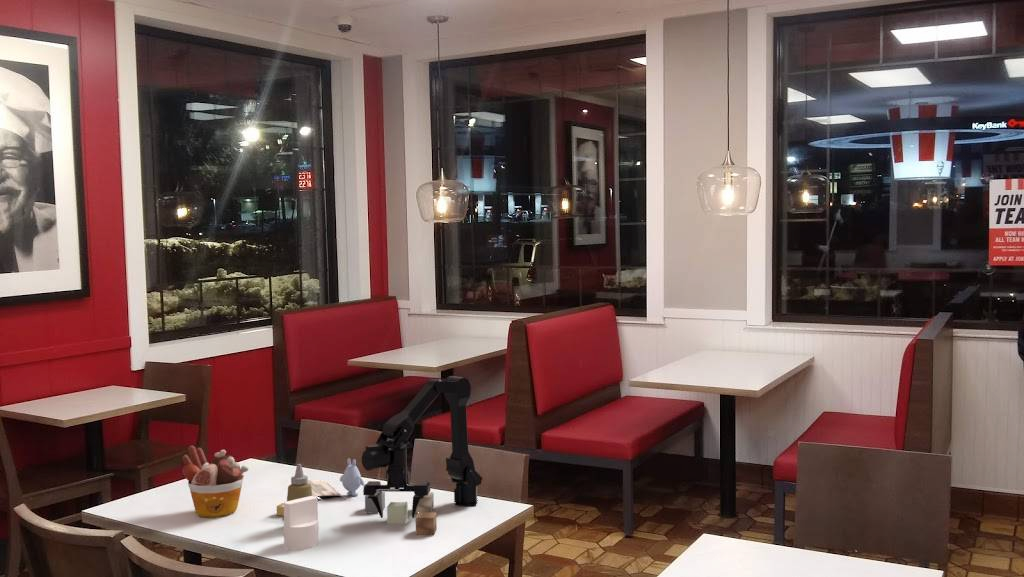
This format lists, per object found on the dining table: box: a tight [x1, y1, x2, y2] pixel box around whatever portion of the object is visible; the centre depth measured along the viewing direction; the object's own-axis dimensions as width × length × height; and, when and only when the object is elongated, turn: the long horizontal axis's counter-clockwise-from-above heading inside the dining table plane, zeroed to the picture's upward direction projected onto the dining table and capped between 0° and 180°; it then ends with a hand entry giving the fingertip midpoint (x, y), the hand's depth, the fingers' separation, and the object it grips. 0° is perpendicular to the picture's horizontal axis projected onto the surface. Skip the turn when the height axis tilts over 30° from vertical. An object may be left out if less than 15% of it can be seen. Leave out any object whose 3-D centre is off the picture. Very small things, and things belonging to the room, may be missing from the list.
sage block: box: [386, 501, 409, 525], centre depth 259 cm, size 5×5×5 cm
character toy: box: [276, 502, 284, 517], centre depth 266 cm, size 8×3×8 cm
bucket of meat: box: [181, 445, 249, 519], centre depth 269 cm, size 20×16×20 cm
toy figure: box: [339, 457, 365, 497], centre depth 287 cm, size 11×6×12 cm, turn 55°
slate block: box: [364, 491, 386, 514], centre depth 271 cm, size 5×5×5 cm
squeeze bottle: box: [286, 463, 312, 502], centre depth 254 cm, size 8×8×18 cm
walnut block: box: [415, 511, 438, 536], centre depth 248 cm, size 5×5×5 cm
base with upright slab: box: [283, 496, 320, 551], centre depth 239 cm, size 9×9×12 cm
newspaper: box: [307, 479, 344, 501], centre depth 292 cm, size 23×12×2 cm, turn 25°
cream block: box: [416, 491, 435, 512], centre depth 270 cm, size 5×5×5 cm
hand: (397, 517), depth 259 cm, fingers open, 9 cm apart
